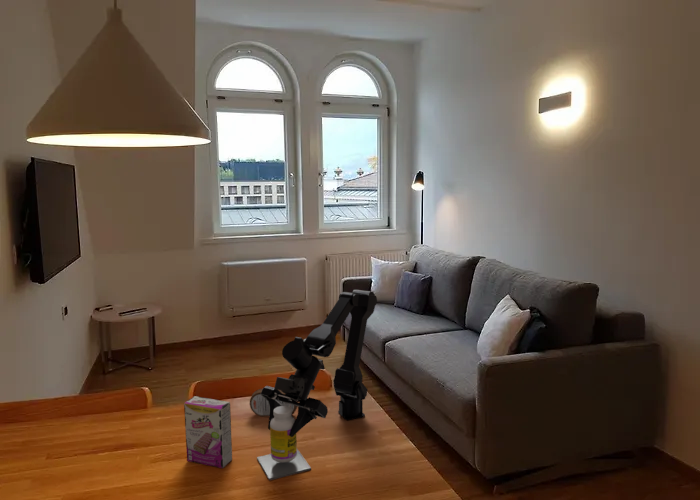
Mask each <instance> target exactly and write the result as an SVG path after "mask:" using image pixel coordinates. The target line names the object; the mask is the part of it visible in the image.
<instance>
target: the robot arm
mask: <svg viewBox="0 0 700 500" xmlns="http://www.w3.org/2000/svg"><path fill="white" fill-rule="evenodd" d="M377 302H378V298H377V296H376V295H375V293H374V291H372V290H371V291H370V290H363V289H362V290H361V289H353V290H352V292H348V291H343V292H340V293H339V296H338V299H337V301H336V302H335V304H334V305H333V307H332V309H331V310H330V312H329V313H328V315H327V317H326V318H325V320H324V321H323V323H322V324H320V326H318V327H315V328H314V329H313V330H312V331H311V332H310V333H309V334H308V335H307V336H306V338H304V339H303V338H302V337H298V336H295V337H294V339H293V340H291V341H288V342H287V343H286V344H285V345H284V346H283V348H282V351H281V355H282V357H283V359H284V360H285V361H287V362H288V363H289V365H291V366H292V367H293V368H294V369H295V372H294V374H290V375H289V376H288V378H286V377H282V376H281V377H279V376H276V380H275V383H274V387H272V386H269V385H266V386H264V387H262V388H261V389H262V391H261V393H260V395H262V396H263V397H264V398H265V399H266V400H267V401H268V402H269V405H270V415H269V417H268V425H267V429H268V430H270V422H271V420H272V419H273V418H274V415H273V411H274V409H275V408H276V407H279V406H281V404H282V403H283V402H285V403H289V404H292V405H296V406H298V407H297V415H296V418H295V422H294V424H293V426H292V429H291V431H290V434H289V436H290V437H293V436H294V435H295V434H296V435H297V433H299V431H300V430H302V429H303V428H304V427H305V426H306V425H307V424H308V423H310V422H311V421H312V420H317V418H318V417H319V418H322V419H326V417H327V415H328V413H329V411H328V406H327V405H326V404H324V402H323V401H322V400H320V399H317V398H314V397H310V393H311V391H314V390H315V388H316V386H315V385H314V383H315V381H316V379H317V377H318V375H319V372H320V370H322V371H323V370H325V368H326V367H325V364H324V360H323V359H320V358H318V357H322V358H328V357H330V356H331V355H332V353H333V351H334V348H335V346H336V345H337V339H336V336H337V334H338V333H339V331H340V329H341V328H342V326H343V325H344V323H345V321H346V320H347V319H348V316H349V315H350V317H351V318H350V325H349V329H348V330H349V331H348V336H347V341H346V342H347V343H346V348H345V354H344V358H343V363H342V364H341V365H340V367H339V368H336V369H335V371H334V373H335V374H334V379H333V387H334V388H333V389H334V392H335V396H339V398H340V399H339V400H338V411H337V412H338V414H339V415H340V416H341V417H342V418H343V419H344V420H345V421H350V420H355V419H359V418H363V416H364V417H366V414H365V413H364V412H363V407H364V406H363V402H364V401H363V400H366V398H367V396H368V388H367V387H366V386H365V385H364V383H363V378H364V377H363V373H362V370H361V368H360V364H361V363H360V362H361V359H362V352H363V345H364V341H365V334H366V328H367V323H368V320H369V319H370V318H371V316H372V315H373V314H374V312H375V308H376V305H377ZM317 356H318V357H317ZM279 390H281V391H282V392H283V393H285V395H284V394H282V393H281V392H280V391H279ZM290 400H292V401H290ZM296 401H297V402H298V403H297V402H296Z"/></svg>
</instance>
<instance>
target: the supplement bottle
mask: <svg viewBox="0 0 700 500" xmlns="http://www.w3.org/2000/svg"><path fill="white" fill-rule="evenodd" d="M273 415H274V418H273V419H272V420H271V422H270V431H269V435H270V454H271V457H272V459H273V460H274V461H277V462H289V461H291V460H293V459H294V458H295V457H296V455H297V449H298V447H297V433H296V434H295V435H294V436H293V437H290V436H289V434H290V431H291V429H292V426H293V424H294V422H295V420H296V418H295V417H294V416H293V415H292V409H291V408H290V407H288V406H279V407H276V408H275V409H274V411H273Z"/></svg>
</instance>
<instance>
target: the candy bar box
mask: <svg viewBox="0 0 700 500" xmlns="http://www.w3.org/2000/svg"><path fill="white" fill-rule="evenodd" d="M183 407H184V409H183V410H184V427H185V428H184V429H185V443H186V444H185V445H186V462H191V463H195V464H196V463H197V464H198V465H199V464H201V465H205V466H209V467H215V468H220V469H224V468H225V467H226V466H227V465H228V464H229V463H230V462H231V461H232V460H233V445H232V444H233V443H232V442H233V441H232V415H231V414H232V413H231V402H230V401H227V400H226V401H225V400H219V399H213V398H208V397H201V396H197V395H196V396H195V395H194V396H193V397H191V398H190V399H188V400H186V401H185V402H184V403H183Z"/></svg>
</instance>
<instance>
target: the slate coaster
mask: <svg viewBox="0 0 700 500" xmlns="http://www.w3.org/2000/svg"><path fill="white" fill-rule="evenodd" d="M256 459H257V461H258V463H259V465H260V467H261V468H262V470H263V473H264V474H265V476H266V477H267V479H268V481H273V480H277V479H281V478H283V477H284V478H285V477H289V476H292V475H296V474H300V473H304V472H307V471H311V470H312V467H311V465H309V463H308V462H307V460H306V459H305V458H304V456H303V454H302V453H301V452H300V450H299V449H298V448H297V455H296V457H295V458H294V459H293V460H291V461H289V462H277V461H274V460H273V459H272V457H271V453H269V454H265V455H264V454H263V455H260V456H257V457H256Z"/></svg>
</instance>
